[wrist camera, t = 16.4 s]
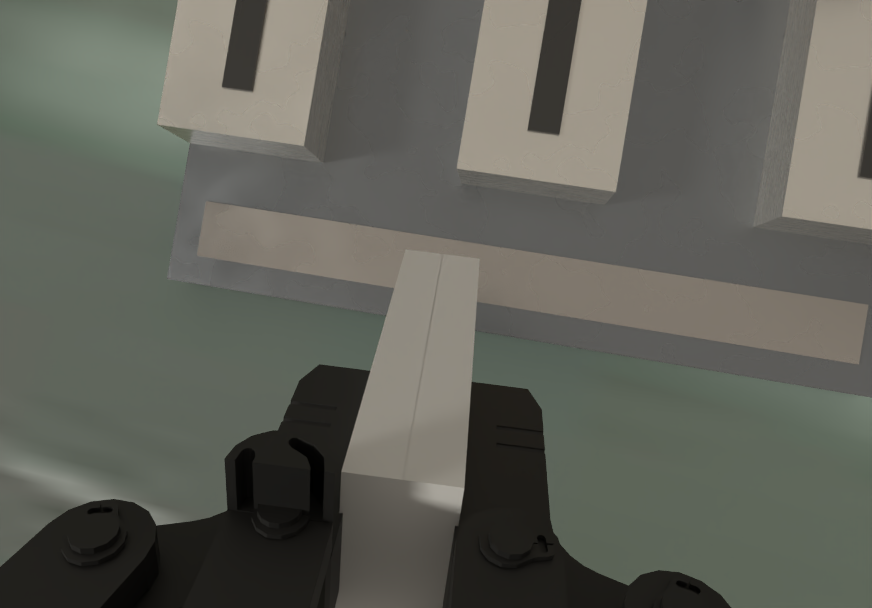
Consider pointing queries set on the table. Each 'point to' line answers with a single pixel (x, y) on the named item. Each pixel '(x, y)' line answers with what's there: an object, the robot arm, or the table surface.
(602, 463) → the table surface
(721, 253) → the breaker panel
